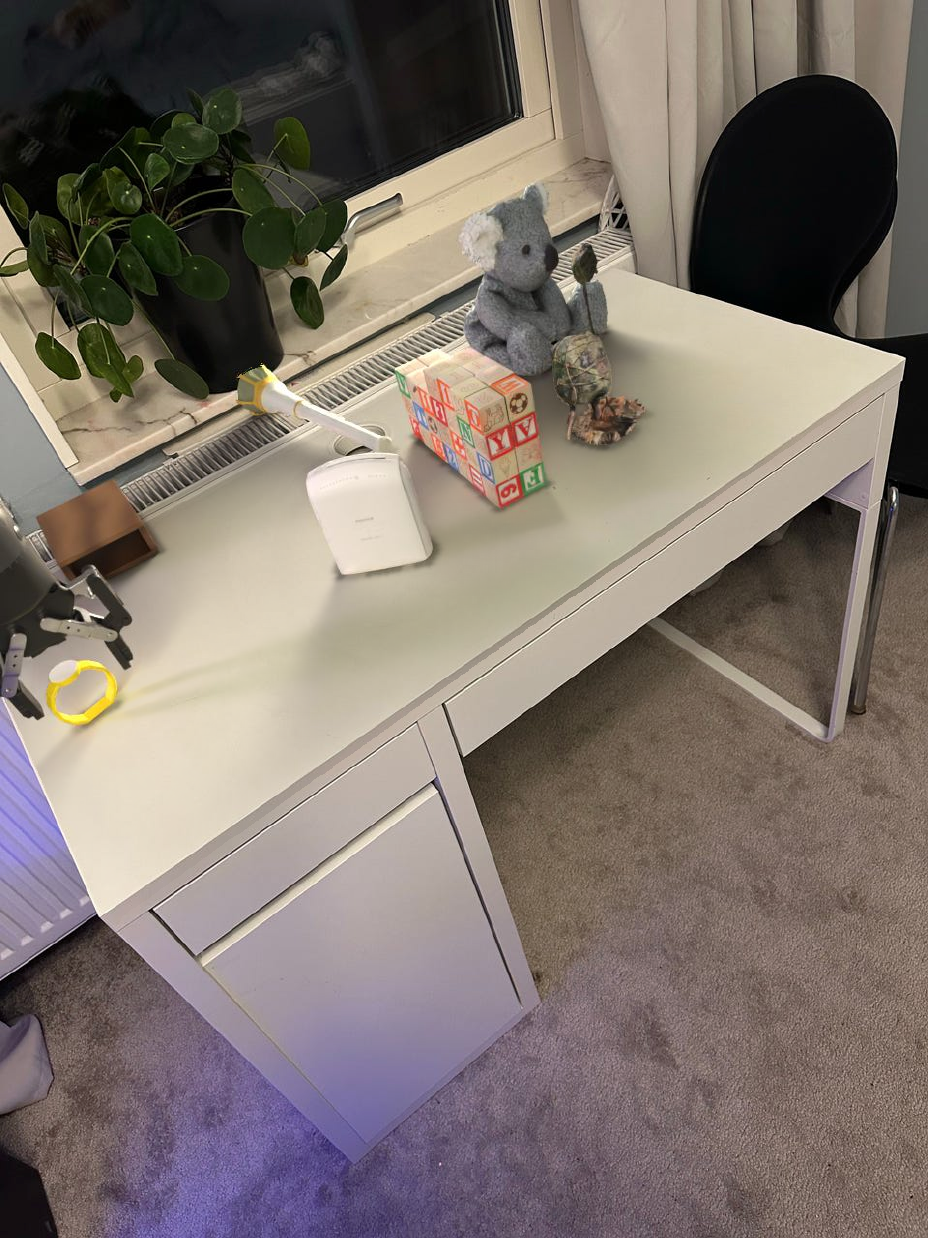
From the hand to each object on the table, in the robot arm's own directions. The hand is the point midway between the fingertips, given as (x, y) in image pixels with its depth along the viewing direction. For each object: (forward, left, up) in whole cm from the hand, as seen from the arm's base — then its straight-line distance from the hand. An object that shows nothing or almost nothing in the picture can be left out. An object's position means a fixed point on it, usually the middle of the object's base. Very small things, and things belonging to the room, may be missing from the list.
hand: (83, 688), depth 78 cm
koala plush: (+69, +24, -3) cm, 73 cm away
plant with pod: (+61, -1, -3) cm, 61 cm away
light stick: (+38, +30, -3) cm, 49 cm away
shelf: (+8, +27, -3) cm, 28 cm away
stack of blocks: (+48, +6, -3) cm, 49 cm away
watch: (0, 0, -3) cm, 3 cm away
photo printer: (+31, -2, -3) cm, 31 cm away
